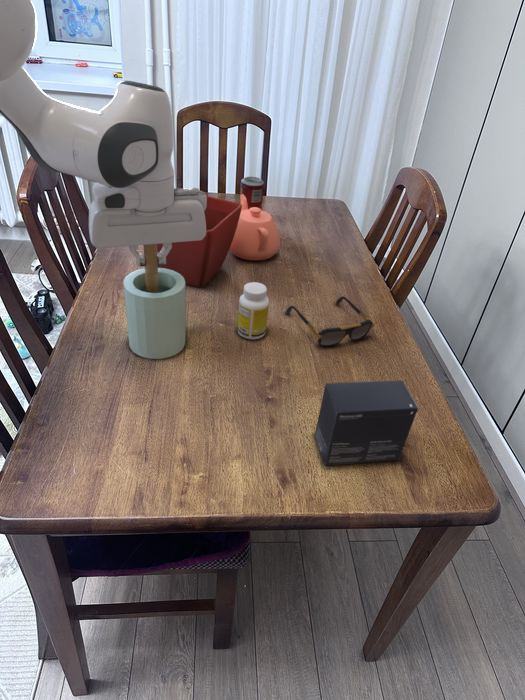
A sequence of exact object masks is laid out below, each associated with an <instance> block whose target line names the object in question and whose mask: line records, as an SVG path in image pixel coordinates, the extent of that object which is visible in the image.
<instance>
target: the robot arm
mask: <svg viewBox="0 0 525 700" xmlns="http://www.w3.org/2000/svg"><path fill="white" fill-rule="evenodd" d="M37 32H38V20H37V12H36V7H35V5H34V3H33V2H32V0H0V115H1V116H2V117H3V118H4V119H5V120H6V121H7V122H8V123H9V124H10V125H11V126H12V127H13V129H14V131H16V133H17V134H18V136H19V138H20V139H21V141H22V143H23V145H24V146H25V148H26V150H27V152H28V154H29V155H30V157H31V158H32V160H34V162H35V163H36V164H37V165H38V166H40V167H41V168H43V169H45V170H47V171H49V172H54V173H59V174H65V175H70V176H73V177H75V178H79V179H82V180H85V181H88V182H92V183H94V184H93V185H92V188H91V191H92V198H93V200H92V202H91V204H90V206H89V209H88V233H89V240H90V244H91V245H92V246H93V247H94V248H96V249H109V248H110V249H111V248H122V247H123V248H124V247H128V248H129V250H130V253H131V254H132V255H133V256H134V258H135V265H136V267H137V268H139V267H145V266H146V263H145V257H144V253H139V246H144V245H149V244H161V243H162V244H163V248H162V250H161V252H158V253H157V255H158V265H161V264H166V256H167V255H168V253H169V251H170V250H171V248H172V243H174V242H186V241H199V240H202V239H203V238H204V237H205V236H206V221H205V214H204V211H205V209H206V206H207V197H206V196H207V194H206V193H205V192H204V191H203V190H200V189H199V188H198V187H191V188H176V189H174V188H175V171H174V170H175V169H174V166H173V163H172V154H173V151H174V147H175V145H174V120H173V113H172V106H171V101H170V97H169V95H168V93H167V92H166V90H164V89H163V88H162V87H159V86H157V85H151V84H148V83H142V82H138V81H133V80H122V81H118V82H117V83H116V88H115V94H114V96H113V98H112V99H111V100H110V102H109V103H108V104H107V105H105V106H104V107H103V108H101V109H100V110H98V111H96V110H91V109H88V108H84V107H80V106H76V105H73V104H70V103H67V102H64V101H62V100H58V99H56V98H53V97H51V96H49V95H47V94H46V93H45V92H44V91H43V90H42V89H41V88H40V86H39V85H38V83H36V81H35V80H34V79H33V78H32V77H31V75H30V74H29V73H28V72H27V70H26V69H25V68H24V67H23V66H24V65H25V64H26V62H27V61H28V59H29V58H30V56H31V54H32V51H33V49H34V47H35V43H36V40H37Z"/></svg>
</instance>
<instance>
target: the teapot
mask: <svg viewBox="0 0 525 700" xmlns="http://www.w3.org/2000/svg"><path fill="white" fill-rule="evenodd" d="M240 198H241V205H242V209H241V213H240V217H239V221H238V225H237V228H236V232H235V235H234V238H233V241H232V243H231V246H230V249H229V252H230V253H232V254H233V255H234V256H235V257H237V258H240V259H242V260H246V261H264V260H267V259H271V258H272V257H273V256H275V255H276V254H277V253H278V252H279V250H280V248H281V237H280V231H279V228H278V227H277V224H276V222H275V220H274V218H273V216H272V215H271V214H270V213H269V212H266V211H265V210H261V209H260V208H257V207H252V208H250V209H248V204H247V199H246V197H245V196H244V195H243V194H241V195H239V199H240Z"/></svg>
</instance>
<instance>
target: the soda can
mask: <svg viewBox="0 0 525 700" xmlns="http://www.w3.org/2000/svg"><path fill="white" fill-rule="evenodd" d="M264 187H265V182H264V181H263V180H262V178H260V177H257V176H246V177H244V178H242V179H241V181H240V188H239V189H240V190H239V194H240V195H241V194H243V195H244V196H245V197H246V199H247V204H248V209H250V208H252V207H257V208H260V209H261V210H262V209H263V201H264V199H263V198H264ZM240 195H239V196H240ZM239 204H241V198H240V197H239ZM262 211H263V210H262Z"/></svg>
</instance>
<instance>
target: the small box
mask: <svg viewBox="0 0 525 700" xmlns="http://www.w3.org/2000/svg"><path fill="white" fill-rule="evenodd" d="M418 411H419V407H418V404H417V403H416V401H415V399H414V398H413V396H412V395H411V392H410V390H409V389H408V387H407V385H406V383H404V381H403V380H382V381H381V380H379V381H378V380H377V381H353V382H327V383H325V385H324V389H323V395H322V399H321V404H320V408H319V412H318V417H317V422H316V428H315V432H314V439H315V442H316V445H317V448H318V451H319V455H320V457H321V460H322V463H323V465H324V466H339V465H340V466H341V465H352V464H353V465H354V464H366V463H377V462H378V463H379V462H380V463H381V462H392V461H393V462H394V461H400V460H401V456H402V453H403V450H404V448H405V445H406V443H407V439H408V436H409V434H410V431H411V428H412V426H413V423H414V420H415V418H416V415H417V413H418Z"/></svg>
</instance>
